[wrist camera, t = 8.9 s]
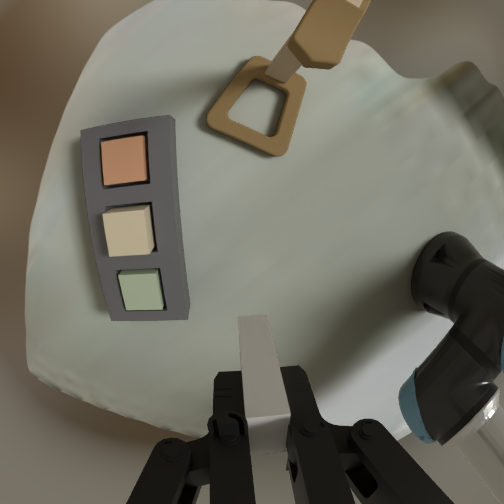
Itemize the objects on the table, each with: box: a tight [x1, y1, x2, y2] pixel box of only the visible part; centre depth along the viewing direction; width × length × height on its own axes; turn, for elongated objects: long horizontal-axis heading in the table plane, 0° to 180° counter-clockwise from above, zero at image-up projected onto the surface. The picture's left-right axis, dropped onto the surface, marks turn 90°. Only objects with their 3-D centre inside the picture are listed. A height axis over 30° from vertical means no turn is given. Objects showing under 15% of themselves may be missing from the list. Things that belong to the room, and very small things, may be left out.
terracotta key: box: [101, 136, 150, 185], centre depth 29 cm, size 5×5×3 cm
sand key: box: [102, 205, 155, 257], centre depth 30 cm, size 5×5×3 cm
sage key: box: [118, 268, 165, 310], centre depth 34 cm, size 5×5×3 cm
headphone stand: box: [206, 0, 371, 156], centre depth 21 cm, size 10×11×22 cm
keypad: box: [81, 115, 190, 321], centre depth 32 cm, size 25×11×4 cm, turn 1°
